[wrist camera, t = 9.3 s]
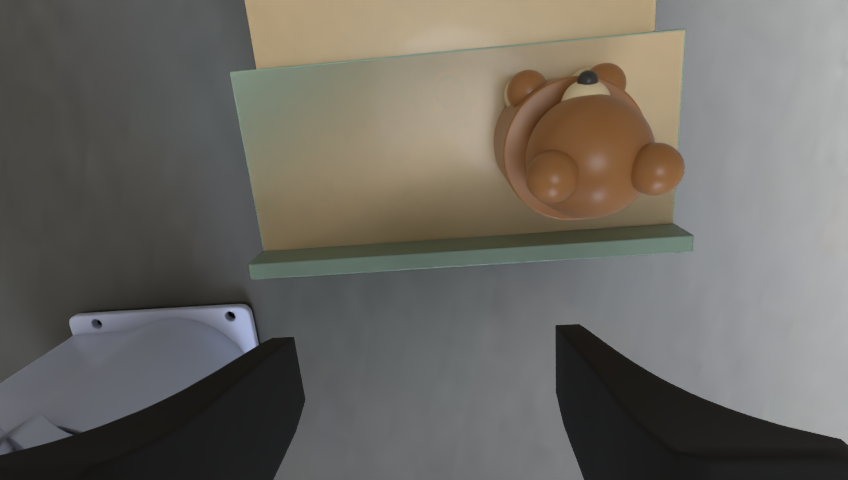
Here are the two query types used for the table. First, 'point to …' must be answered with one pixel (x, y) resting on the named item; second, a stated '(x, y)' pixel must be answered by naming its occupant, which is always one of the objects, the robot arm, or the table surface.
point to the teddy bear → (580, 145)
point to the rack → (432, 130)
